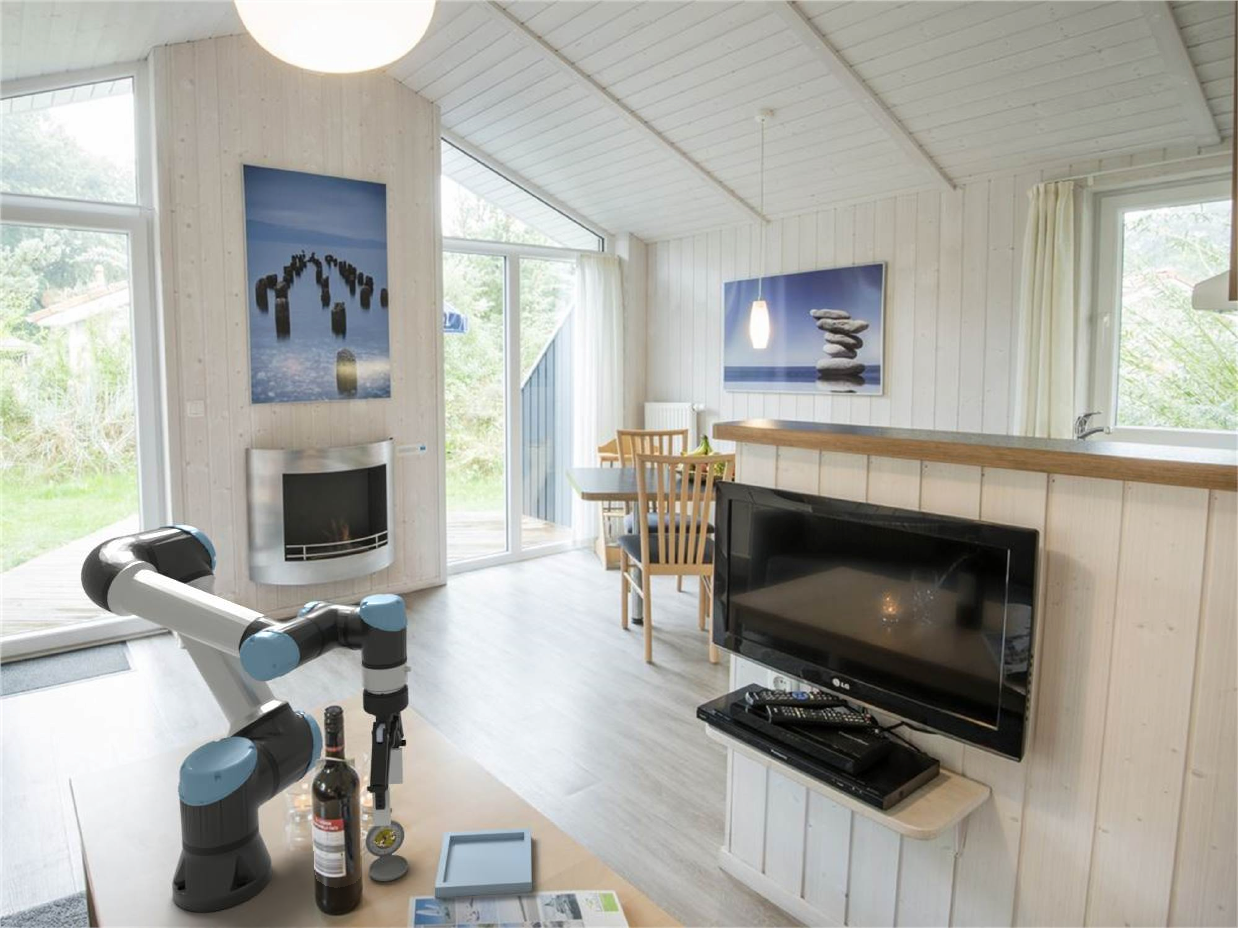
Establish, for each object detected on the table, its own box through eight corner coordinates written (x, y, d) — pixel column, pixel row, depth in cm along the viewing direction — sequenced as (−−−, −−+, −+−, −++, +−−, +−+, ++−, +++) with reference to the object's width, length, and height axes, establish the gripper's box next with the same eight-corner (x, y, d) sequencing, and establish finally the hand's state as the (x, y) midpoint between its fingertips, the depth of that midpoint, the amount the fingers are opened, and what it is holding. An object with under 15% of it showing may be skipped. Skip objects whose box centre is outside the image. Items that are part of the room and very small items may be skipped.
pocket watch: (387, 888, 137) (386, 832, 135) (353, 871, 141) (352, 817, 140) (422, 863, 143) (422, 810, 142) (389, 847, 148) (388, 796, 147)
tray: (434, 897, 134) (434, 887, 134) (444, 841, 150) (444, 832, 150) (531, 891, 136) (531, 881, 136) (530, 836, 152) (530, 827, 152)
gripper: (396, 715, 126) (400, 842, 129) (417, 659, 151) (420, 766, 153) (347, 717, 125) (351, 845, 128) (376, 660, 150) (379, 768, 152)
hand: (388, 802), depth 141 cm, fingers open, 13 cm apart
